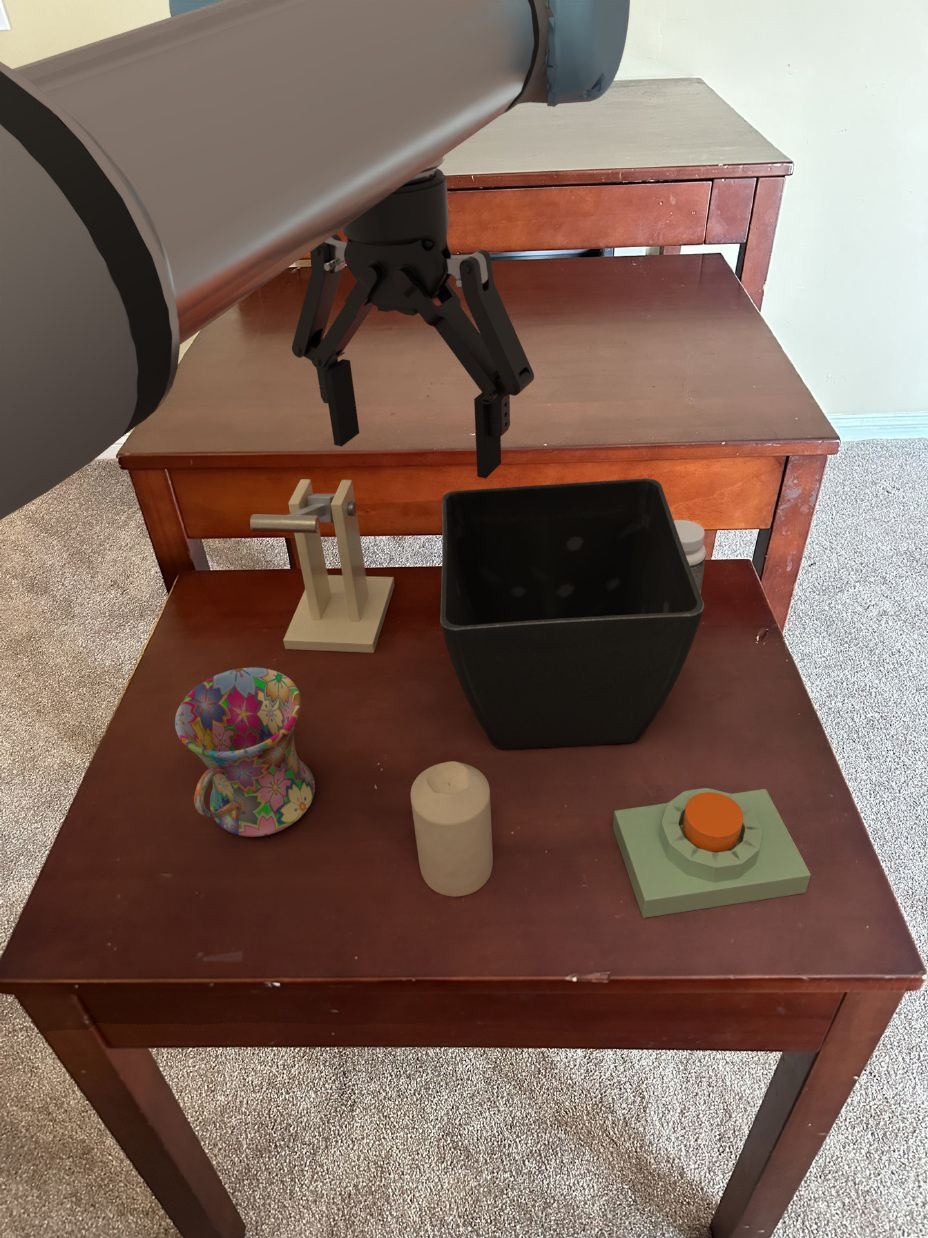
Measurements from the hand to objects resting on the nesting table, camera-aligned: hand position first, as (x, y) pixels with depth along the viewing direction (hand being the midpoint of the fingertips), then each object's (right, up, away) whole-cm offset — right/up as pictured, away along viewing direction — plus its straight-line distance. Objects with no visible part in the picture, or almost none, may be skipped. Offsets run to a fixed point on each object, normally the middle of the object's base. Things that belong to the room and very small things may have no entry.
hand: (415, 454), depth 74 cm
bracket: (-9, -13, +18) cm, 24 cm away
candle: (+3, -32, -6) cm, 33 cm away
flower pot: (+12, -21, +8) cm, 25 cm away
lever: (-10, -5, +6) cm, 13 cm away
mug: (-13, -29, -1) cm, 32 cm away
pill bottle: (+26, -12, +18) cm, 33 cm away
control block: (+22, -32, -7) cm, 39 cm away
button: (+22, -29, -9) cm, 37 cm away
